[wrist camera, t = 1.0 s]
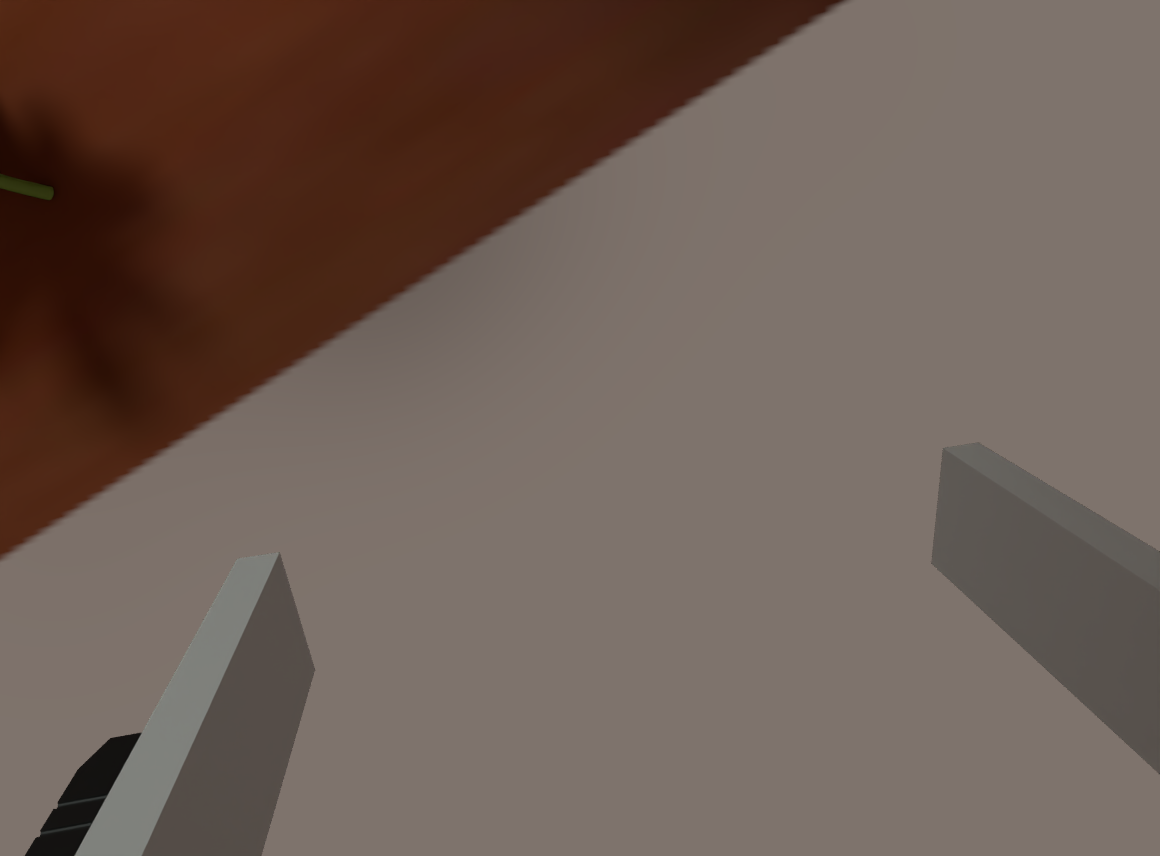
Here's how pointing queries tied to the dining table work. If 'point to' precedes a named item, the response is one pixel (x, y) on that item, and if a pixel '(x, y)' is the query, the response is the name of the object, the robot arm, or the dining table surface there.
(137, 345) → the dining table surface
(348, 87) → the dining table surface
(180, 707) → the robot arm
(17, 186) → the water lily
